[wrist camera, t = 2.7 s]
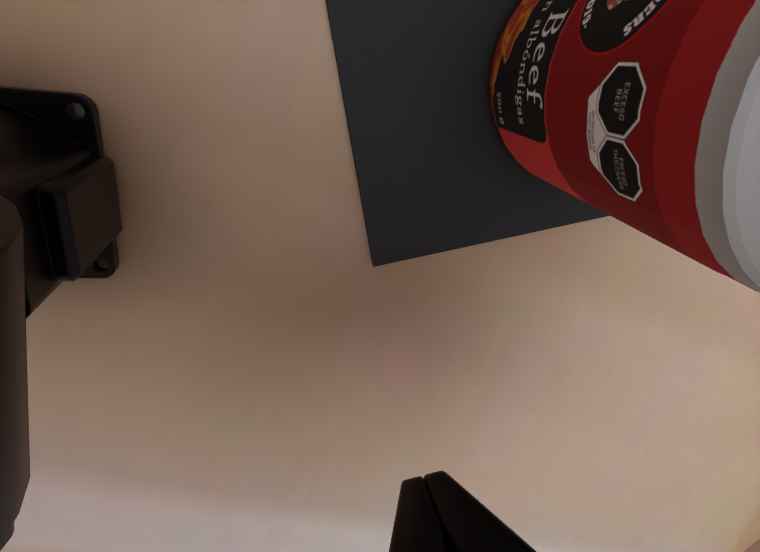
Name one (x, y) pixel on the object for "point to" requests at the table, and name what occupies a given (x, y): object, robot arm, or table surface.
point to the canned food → (642, 116)
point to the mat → (434, 129)
